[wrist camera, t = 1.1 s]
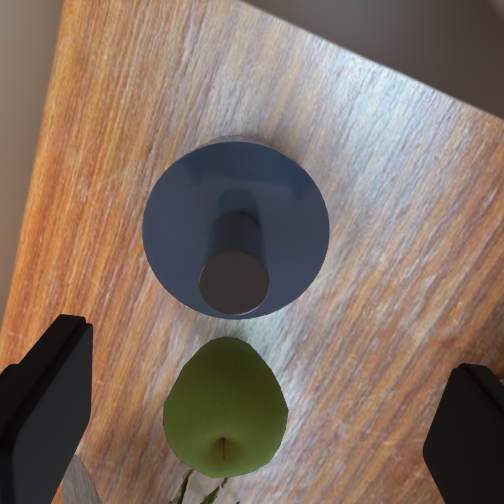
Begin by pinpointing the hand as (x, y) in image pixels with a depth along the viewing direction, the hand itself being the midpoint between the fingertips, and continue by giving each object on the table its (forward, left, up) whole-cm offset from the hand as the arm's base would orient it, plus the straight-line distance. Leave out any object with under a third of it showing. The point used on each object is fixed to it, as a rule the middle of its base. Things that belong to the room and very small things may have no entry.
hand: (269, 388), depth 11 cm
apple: (+7, +12, -23) cm, 27 cm away
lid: (+1, 0, -15) cm, 15 cm away
